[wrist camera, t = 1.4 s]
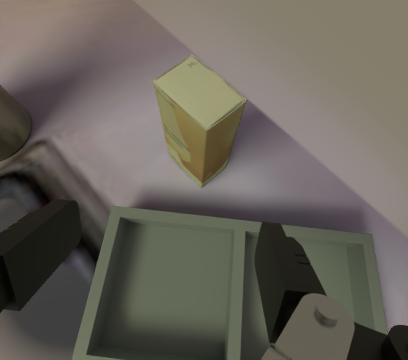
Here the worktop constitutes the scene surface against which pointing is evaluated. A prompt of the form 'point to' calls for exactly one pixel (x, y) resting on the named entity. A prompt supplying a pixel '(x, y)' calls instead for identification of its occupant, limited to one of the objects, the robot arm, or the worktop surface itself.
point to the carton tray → (206, 286)
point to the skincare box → (198, 117)
